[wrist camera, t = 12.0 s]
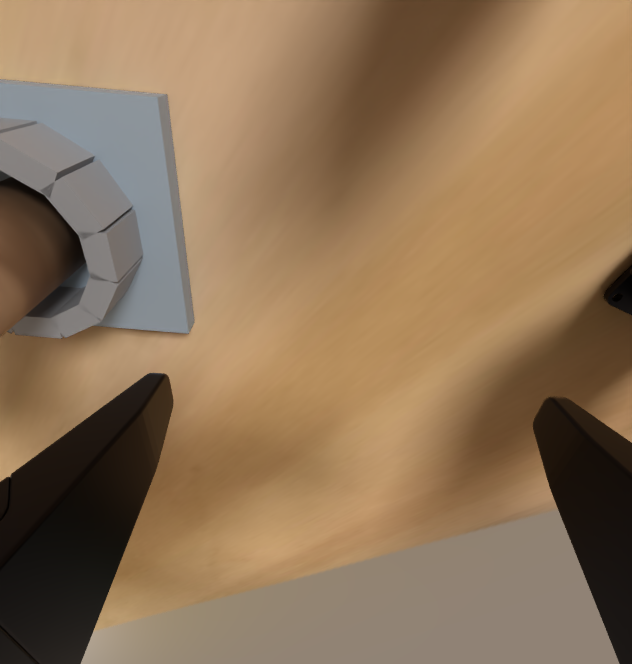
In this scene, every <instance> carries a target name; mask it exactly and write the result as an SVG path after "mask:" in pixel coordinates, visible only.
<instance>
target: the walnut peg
mask: <svg viewBox="0 0 632 664" xmlns="http://www.w3.org/2000/svg"><path fill="white" fill-rule="evenodd" d="M85 263H86V259H85V256H84V252H83V249H82V245H81V242H80V238H79V235H78V234H77V233H76V232H75V231H74V230H73V228H72V227H71V226H70V225H69V224H68V222H67V221H66V220H65V219H64V218H63V217H62V215H61V214H60V213H59V212H58V211H57V209H56V208H55V207H54V206H53V205H52V204H51V202H50V201H49V200H48V199H47V198H46V196H45V195H43V194H41V193H40V192H38V191H36V190H34V189H33V188H31V187H29V186H27V185H25V184H24V183H22V182H20V181H18V180H17V179H15V178H13V177H10V178H7V179H5V180H2V181H0V337H1V336H3V335H4V334H5V333H6V332H7V331H8V330H9V329H11V328H12V327H13V326H14V325H15V324H16V323H17V322H19V321H20V320H21V319H22V318H23V317H24V316H25V315H26V314H28V313H29V312H30V311H31V310H32V309H33V308H34V307H36V306H37V305H38V304H39V303H40V302H41V301H42V300H44V299H45V298H46V297H47V296H48V295H49V294H50V293H52V292H53V291H54V290H55V289H56V288H57V287H58V286H60V285H61V284H62V283H63V282H64V281H65V280H66V279H68V278H69V277H70V276H71V275H72V274H73V273H74V272H75V271H77V270H78V269H79V268H80V267H81V266H82V265H83V264H85Z"/></svg>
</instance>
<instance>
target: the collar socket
mask: <svg viewBox="0 0 632 664" xmlns="http://www.w3.org/2000/svg"><path fill="white" fill-rule="evenodd" d="M10 177H13V178H15V179H17V180H18V181H20V182H22V183H24V184H25V185H27V186H29V187H31V188H33V189H34V190H36V191H38V192H40V193H41V194H43V195H45V196H46V198H47V199H48V200H49V201H50V202H51V204H52V205H53V206H54V207H55V208H56V209H57V211H58V212H59V213H60V214H61V215H62V217H63V218H64V219H65V220H66V221H67V222H68V224H69V225H70V226H71V227H72V228H73V230H74V231H75V232H76V233H77V234H78V235H79V238H80V242H81V245H82V249H83V252H84V256H85V259H86V263H85V264H83V265H82V266H81V267H80V268H79V269H78V270H77V271H75V272H74V273H73V274H72V275H71V276H70V277H69V278H68V279H66V280H65V281H64V282H63V283H62V284H61V285H60V286H58V287H57V288H56V289H55V290H54V291H53V292H52V293H50V294H49V295H48V296H47V297H46V298H45V299H44V300H42V301H41V302H40V303H39V304H38V305H37V306H36V307H34V308H33V309H32V310H31V311H30V312H29V313H28V314H26V315H25V316H24V317H23V318H22V319H21V320H20V321H19V322H17V323H16V324H15V325H14V326H13V327H12V328H11V329H9V330H8V331H7V332H9V333H12V332H13V331H14V332H15V334H16V335H25V336H37V337H49V338H61V339H62V338H63V337H65V338H67V337H69V336H71V335H73V334H76V333H78V332H80V331H82V330H84V329H87V328H89V327H91V326H103V327H115V328H127V329H139V330H151V331H163V332H175V333H188V334H189V332H190V330H191V328H192V326H193V324H194V314H193V306H192V297H191V289H190V281H189V272H188V264H187V256H186V247H185V239H184V231H183V222H182V214H181V206H180V197H179V189H178V181H177V172H176V164H175V156H174V147H173V139H172V131H171V122H170V114H169V106H168V97H167V94H156V93H145V92H134V91H123V90H112V89H101V88H90V87H79V86H68V85H58V84H47V83H36V82H25V81H14V80H3V79H0V181H2V180H5V179H7V178H10Z"/></svg>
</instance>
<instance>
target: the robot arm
mask: <svg viewBox="0 0 632 664" xmlns="http://www.w3.org/2000/svg"><path fill="white" fill-rule="evenodd" d="M616 294H618V295H617V296H616V297H613V296H614V295H616ZM603 297H604V300H605V301H607V302H608V303H609V304H610V305H612V306H614V307H616V308H618V309H620V310H622V311H624V312H626V313H628V314H630V315H632V266H631V267H630V268H629V269H628V270H627V271H626V272H625V273H624V274H623V275H622V276H621V277H620V278H619V279H618V280H617V281H615V282H614V283H613V284H612V285H611V286H610V287H609V288H608V289H607V290H606V292H605V293H604V296H603ZM172 409H173V395H172V390H171V385H170V380H169V377H168V375H166V374H162V373H149V374H147V375H146V376H144V377H143V378H141V379H140V380H139V381H137V382H136V383H135V384H133V385H132V386H131V387H129V388H128V389H126V390H125V391H124V392H122V393H121V394H120V395H118V396H117V397H116V398H114V399H113V400H111V401H110V402H109V403H107V404H106V405H105V406H103V407H102V408H101V409H99V410H98V411H96V412H95V413H94V414H92V415H91V416H90V417H88V418H87V419H86V420H84V421H83V422H81V423H80V424H79V425H77V426H76V427H75V428H73V429H72V430H71V431H69V432H68V433H66V434H65V435H64V436H62V437H61V438H60V439H58V440H57V441H56V442H54V443H53V444H52V445H50V446H49V447H47V448H46V449H45V450H43V451H42V452H41V453H39V454H38V455H37V456H35V457H34V458H32V459H31V460H30V461H28V462H27V463H26V464H24V465H23V466H22V467H20V468H19V469H17V470H16V471H15V472H13V473H12V474H11V476H10V477H6V478H5V479H4V480H2V481H1V482H0V664H81V661H82V658H83V656H84V654H85V651H86V648H87V646H88V643H89V641H90V638H91V636H92V633H93V630H94V628H95V625H96V623H97V620H98V618H99V615H100V613H101V610H102V607H103V605H104V602H105V600H106V597H107V595H108V592H109V590H110V587H111V584H112V582H113V579H114V577H115V574H116V572H117V569H118V567H119V564H120V561H121V559H122V556H123V554H124V551H125V549H126V546H127V543H128V541H129V538H130V536H131V533H132V531H133V528H134V526H135V523H136V520H137V518H138V515H139V513H140V510H141V508H142V505H143V503H144V500H145V497H146V495H147V492H148V490H149V487H150V485H151V482H152V480H153V477H154V474H155V471H156V469H157V466H158V462H159V459H160V455H161V451H162V447H163V443H164V440H165V436H166V432H167V428H168V424H169V420H170V417H171V413H172ZM533 430H534V434H535V437H536V441H537V444H538V448H539V451H540V455H541V459H542V462H543V466H544V469H545V473H546V477H547V480H548V483H549V486H550V489H551V492H552V495H553V497H554V500H555V503H556V505H557V508H558V510H559V512H560V515H561V518H562V520H563V523H564V525H565V528H566V530H567V533H568V535H569V538H570V540H571V543H572V545H573V548H574V550H575V553H576V555H577V558H578V560H579V563H580V565H581V568H582V570H583V573H584V575H585V578H586V580H587V583H588V585H589V588H590V590H591V593H592V595H593V598H594V600H595V603H596V605H597V608H598V610H599V613H600V615H601V618H602V621H603V623H604V625H605V628H606V631H607V633H608V636H609V638H610V640H611V643H612V645H613V648H614V651H615V653H616V656H617V658H618V661H619V663H620V664H632V443H631V442H630V441H628V440H627V439H625V438H624V437H623V436H621V435H620V434H618V433H617V432H615V431H614V430H612V429H611V428H610V427H608V426H607V425H605V424H604V423H602V422H601V421H599V420H598V419H597V418H595V417H594V416H592V415H591V414H589V413H588V412H587V411H585V410H584V409H582V408H581V407H579V406H578V405H576V404H575V403H574V402H572V401H571V400H569V399H567V398H564V397H548V398H546V399H545V400H544V402H543V404H542V406H541V408H540V409H539V411H538V413H537V415H536V417H535V418H534V422H533Z"/></svg>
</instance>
